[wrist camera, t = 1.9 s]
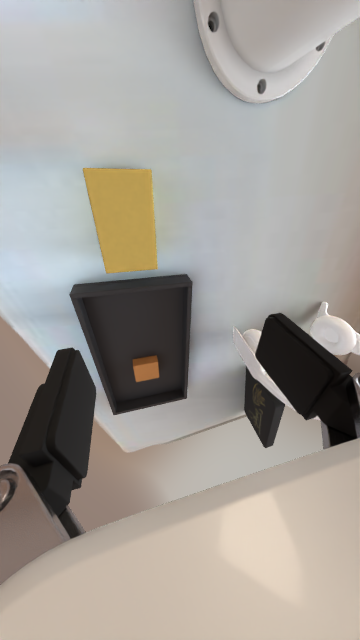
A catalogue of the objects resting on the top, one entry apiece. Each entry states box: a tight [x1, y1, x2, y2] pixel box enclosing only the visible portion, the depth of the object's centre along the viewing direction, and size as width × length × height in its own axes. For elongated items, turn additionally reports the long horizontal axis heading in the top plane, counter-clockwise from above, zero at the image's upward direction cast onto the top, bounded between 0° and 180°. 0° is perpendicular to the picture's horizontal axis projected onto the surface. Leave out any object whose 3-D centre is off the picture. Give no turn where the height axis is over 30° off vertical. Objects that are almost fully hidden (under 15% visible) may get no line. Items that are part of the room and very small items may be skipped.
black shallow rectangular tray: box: [70, 274, 192, 415], centre depth 31 cm, size 25×14×3 cm, turn 0°
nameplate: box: [244, 366, 285, 448], centre depth 44 cm, size 21×2×10 cm, turn 11°
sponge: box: [83, 168, 158, 273], centre depth 19 cm, size 8×5×5 cm, turn 0°
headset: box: [233, 302, 360, 421], centre depth 29 cm, size 20×7×18 cm, turn 91°
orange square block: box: [133, 355, 159, 382], centre depth 33 cm, size 4×4×2 cm
